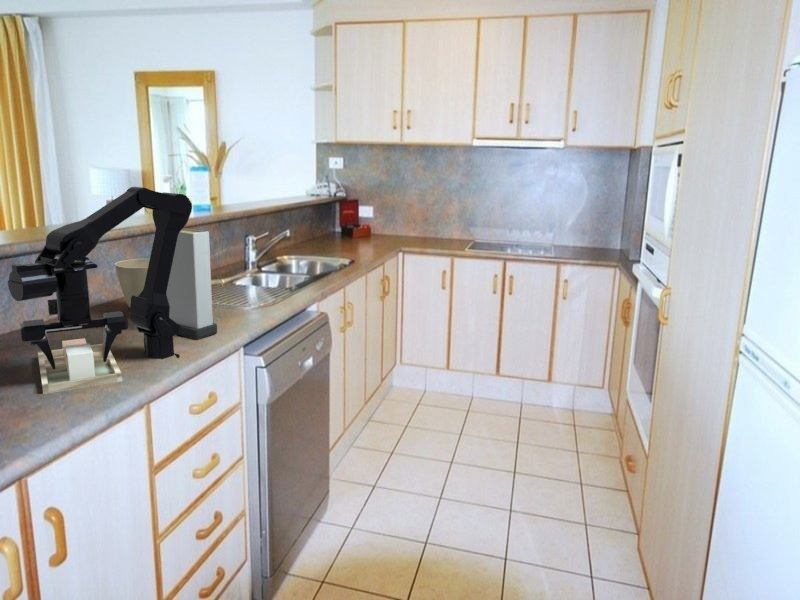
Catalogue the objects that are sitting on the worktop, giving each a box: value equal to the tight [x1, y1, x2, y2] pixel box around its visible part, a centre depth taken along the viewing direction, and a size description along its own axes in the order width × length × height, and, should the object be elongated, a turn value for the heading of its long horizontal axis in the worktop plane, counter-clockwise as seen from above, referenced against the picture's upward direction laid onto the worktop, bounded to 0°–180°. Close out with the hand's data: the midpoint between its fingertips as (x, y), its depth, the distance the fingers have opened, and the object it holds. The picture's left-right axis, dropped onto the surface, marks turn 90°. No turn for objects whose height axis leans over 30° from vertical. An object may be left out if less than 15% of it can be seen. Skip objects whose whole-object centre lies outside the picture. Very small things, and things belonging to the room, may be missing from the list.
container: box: [166, 227, 218, 340], centre depth 150 cm, size 7×18×30 cm, turn 62°
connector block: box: [65, 342, 95, 380], centre depth 116 cm, size 4×7×6 cm, turn 34°
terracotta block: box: [61, 337, 87, 364], centre depth 125 cm, size 4×4×4 cm
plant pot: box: [114, 258, 150, 308], centre depth 166 cm, size 15×15×16 cm
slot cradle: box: [37, 343, 123, 395], centre depth 121 cm, size 23×14×2 cm, turn 34°
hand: (79, 364), depth 116 cm, fingers open, 9 cm apart
